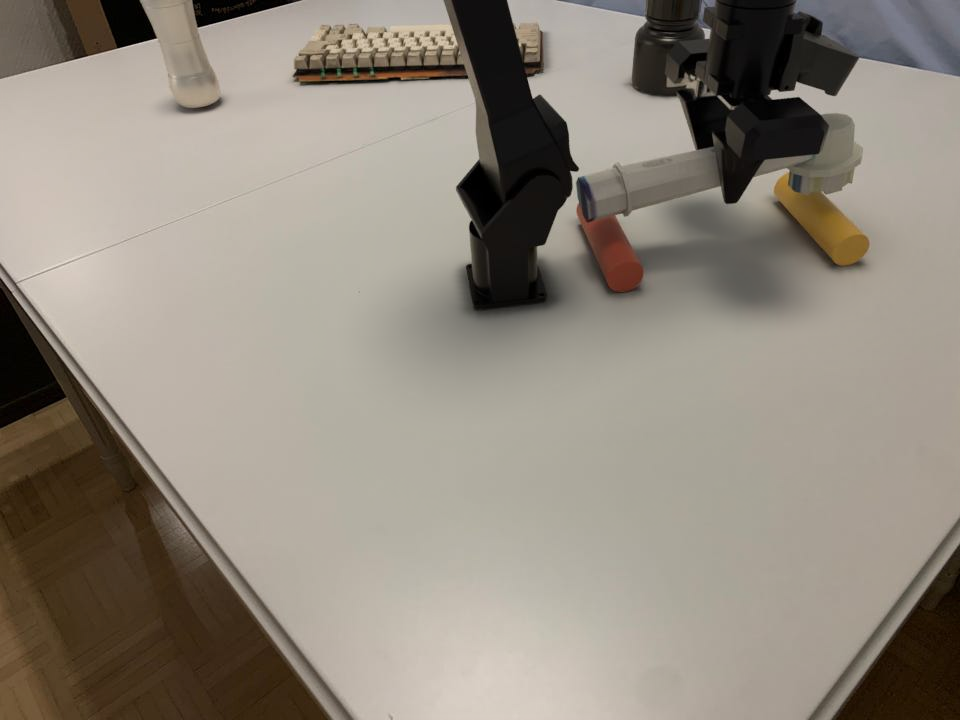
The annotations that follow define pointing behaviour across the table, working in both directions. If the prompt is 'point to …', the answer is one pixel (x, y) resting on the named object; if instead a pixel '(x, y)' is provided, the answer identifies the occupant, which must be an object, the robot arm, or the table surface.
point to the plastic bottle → (183, 52)
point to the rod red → (613, 252)
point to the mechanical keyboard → (397, 52)
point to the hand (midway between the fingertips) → (719, 189)
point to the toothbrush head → (715, 174)
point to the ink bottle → (663, 42)
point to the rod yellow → (824, 223)
